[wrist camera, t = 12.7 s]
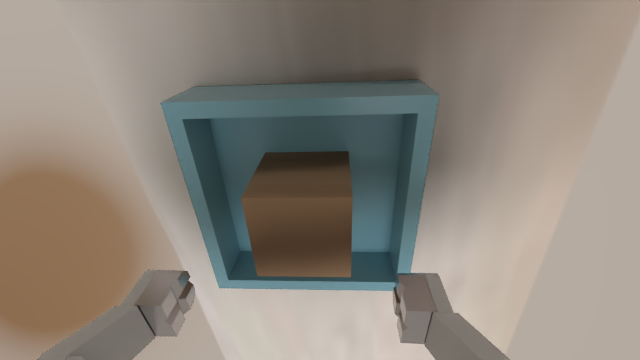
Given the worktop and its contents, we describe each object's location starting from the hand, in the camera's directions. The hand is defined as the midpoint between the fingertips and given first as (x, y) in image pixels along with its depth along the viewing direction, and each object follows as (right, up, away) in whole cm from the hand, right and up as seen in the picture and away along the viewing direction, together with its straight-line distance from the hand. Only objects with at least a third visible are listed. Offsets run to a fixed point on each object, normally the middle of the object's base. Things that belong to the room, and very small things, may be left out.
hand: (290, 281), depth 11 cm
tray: (0, +4, +8) cm, 9 cm away
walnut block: (0, +4, +7) cm, 8 cm away
